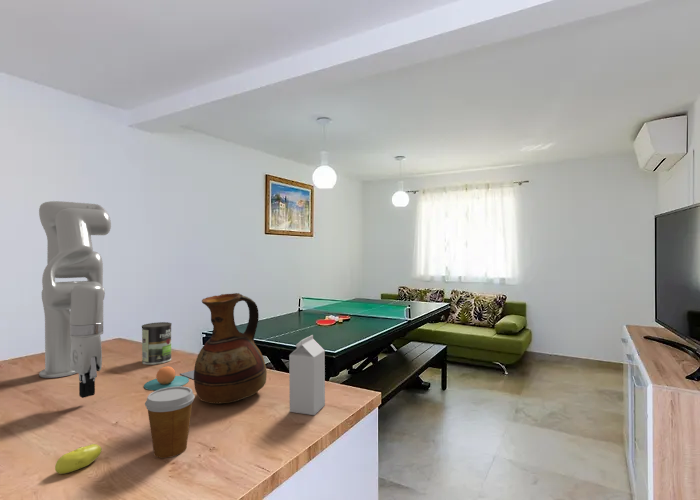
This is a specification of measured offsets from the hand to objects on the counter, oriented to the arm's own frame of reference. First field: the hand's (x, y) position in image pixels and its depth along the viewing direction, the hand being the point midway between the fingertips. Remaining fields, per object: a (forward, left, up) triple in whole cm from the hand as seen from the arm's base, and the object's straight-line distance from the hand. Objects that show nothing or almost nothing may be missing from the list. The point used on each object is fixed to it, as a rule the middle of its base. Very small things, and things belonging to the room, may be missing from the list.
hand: (87, 395), depth 106 cm
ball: (+1, +21, 0) cm, 21 cm away
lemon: (+35, -12, -3) cm, 37 cm away
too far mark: (+1, +34, -2) cm, 34 cm away
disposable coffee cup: (+43, +2, -3) cm, 43 cm away
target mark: (+1, +22, -2) cm, 22 cm away
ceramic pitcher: (+27, +28, -3) cm, 39 cm away
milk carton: (+51, +35, -3) cm, 61 cm away
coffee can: (-27, +32, -3) cm, 42 cm away
